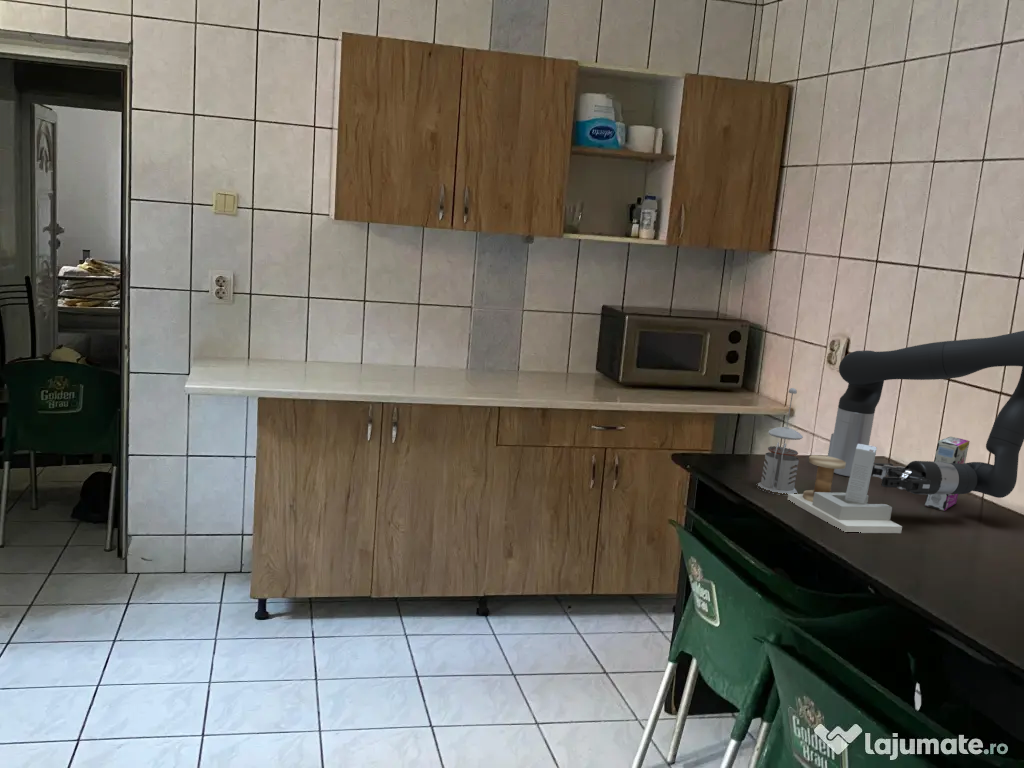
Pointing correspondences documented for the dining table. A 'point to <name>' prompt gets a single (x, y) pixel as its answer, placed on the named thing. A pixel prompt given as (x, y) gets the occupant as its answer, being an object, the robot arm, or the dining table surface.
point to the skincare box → (860, 473)
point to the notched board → (846, 523)
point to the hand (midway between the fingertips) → (870, 476)
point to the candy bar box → (948, 453)
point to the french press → (781, 461)
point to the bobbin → (823, 474)
